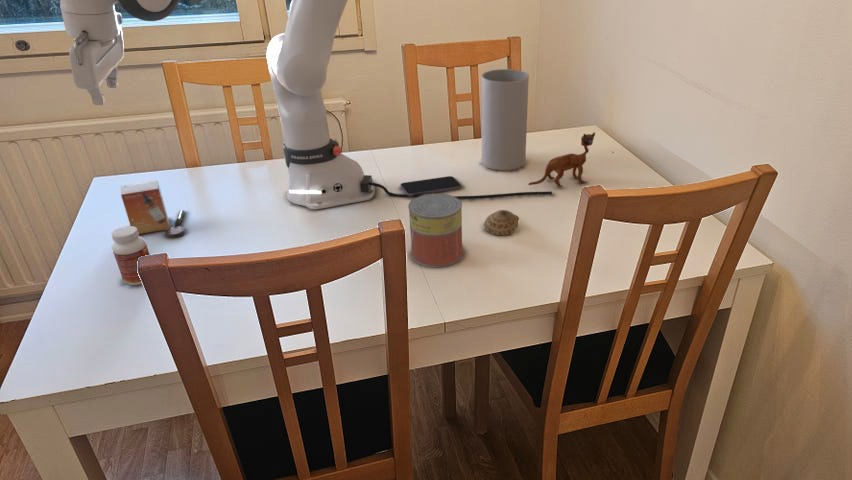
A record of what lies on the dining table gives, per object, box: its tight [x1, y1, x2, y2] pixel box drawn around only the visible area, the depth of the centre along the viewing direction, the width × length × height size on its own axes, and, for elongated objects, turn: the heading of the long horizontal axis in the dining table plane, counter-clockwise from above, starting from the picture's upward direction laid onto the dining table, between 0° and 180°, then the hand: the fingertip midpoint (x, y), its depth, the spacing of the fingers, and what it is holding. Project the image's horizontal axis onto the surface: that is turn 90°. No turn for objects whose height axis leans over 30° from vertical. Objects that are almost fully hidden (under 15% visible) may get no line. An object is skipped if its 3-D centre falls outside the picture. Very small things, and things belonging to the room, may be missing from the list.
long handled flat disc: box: [164, 209, 185, 239], centre depth 154 cm, size 13×4×1 cm, turn 13°
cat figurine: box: [527, 131, 596, 188], centre depth 170 cm, size 18×7×14 cm, turn 109°
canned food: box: [407, 192, 464, 268], centre depth 139 cm, size 11×11×12 cm
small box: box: [120, 179, 171, 235], centre depth 150 cm, size 8×6×10 cm
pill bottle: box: [111, 225, 151, 286], centre depth 131 cm, size 6×6×11 cm
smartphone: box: [400, 175, 462, 196], centre depth 171 cm, size 7×1×15 cm
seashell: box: [483, 209, 520, 236], centre depth 152 cm, size 8×6×8 cm
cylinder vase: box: [481, 68, 530, 172], centre depth 179 cm, size 12×12×25 cm
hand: (106, 95), depth 130 cm, fingers open, 8 cm apart
